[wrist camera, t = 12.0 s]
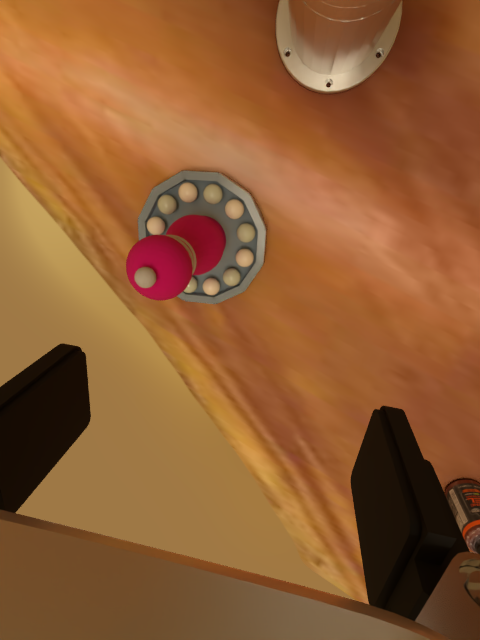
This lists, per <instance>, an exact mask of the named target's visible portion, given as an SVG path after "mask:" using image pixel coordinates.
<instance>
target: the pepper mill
mask: <svg viewBox="0 0 480 640" xmlns="http://www.w3.org/2000/svg"><path fill="white" fill-rule="evenodd" d="M225 246H226V235H225V232H224V230H223V228H222V226H221V225H220V224H219V223H218V222H217V221H216V220H215V219H213V218H211V217H208V216H200V215H186V216H183V217H181V218H179V219H178V220H176V221H175V222H174V223H172V225H171V226H170V227H169V229H168V230H167V233H166V235H151V236H148V237H145V238H143V239H141V240H140V241H138V242H137V243H136V244H135V245H134V246H133V247H132V249H131V250H130V252H129V254H128V257H127V262H126V270H127V275H128V278H129V281H130V283H131V284H132V286H133V287H134V288H135V289H136V290H137V291H138V292H139V293H140V294H142V295H143V296H145V297H147V298H150V299H153V300H167V299H171V298H174V297H175V296H177V295H179V294H180V293H182V292H183V291H184V290H185V289H186V287H187V286H188V284H189V282H190V280H191V278H192V275H201V274H204V273H207V272H209V271H210V270H212V269H213V268H214V267H216V265H217V264H218V263H219V261H220V260H221V257H222V255H223V251H224V249H225Z"/></svg>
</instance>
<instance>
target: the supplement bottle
mask: <svg viewBox="0 0 480 640" xmlns="http://www.w3.org/2000/svg"><path fill="white" fill-rule="evenodd" d="M445 495H446V498H447V501H448V503H449V505H450V507H451V510H452V512H453V514H454V517H455V519H456V521H457V524H458V526H459V528H460V531H461V533H462V535H463V537H464V540H465V542H466V544H467V546H468V547H469V548H470V549H471V550H472V551H473V552H475V553H478V554H480V484H479V483H478V482H476V481H473V480H468V479H463V480H457V481H454V482H453V483H451V484H450V485H449V486H448V487H447V488H446V492H445Z"/></svg>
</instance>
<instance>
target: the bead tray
mask: <svg viewBox="0 0 480 640" xmlns="http://www.w3.org/2000/svg"><path fill="white" fill-rule="evenodd" d="M250 194H251V193H249V192H248V191H246V190H245V189H244V188H243V187H242V186H241V185H239V184H238V183H237V182H235V181H233V180H232V179H230V178H228V177H227V176H225V175H224V174H222V173H219V172H201V171H181V172H179V173H178V174H176V175H174V176H173V177H171V178H169V179H168V180H166V181H164V182H163V183H161V184H159V185H158V186H156V187H154V188H153V189H152V191H151V193H150V195H149V197H148V199H147V201H146V203H145V205H144V207H143V209H142V212H141V214H140V216H139V218H138V219H139V220H138V231H139V241H140V240H141V239H143V238H145V237H148V236H151V235H166V233H167V230H168V229H169V227H170V226H171V225H172V223H174V222H175V221H176V220H178V219H179V218H181V217H183V216H186V215H200V216H208V217H211V218H213V219H215V220H216V221H217V222H218V223H219V224H220V225H221V226H222V228H223V230H224V232H225V235H226V246H225V249H224V251H223V255H222V257H221V260H220V261H219V263H218V264H217V265H216V267H214V268H213V269H212V270H210V271H209V272H207V273H204V274H201V275H192V278H191V280H190V282H189V284H188V286H187V287H186V289H185V290H184V291H183V292H182V293H180V294H179V295H177V296H178V297H179V298H181V299H182V300H185V301H190V302H200V303H209V304H217V303H220V302H222V301H224V300H226V299H229V298H231V297H233V296H235V295H238V294H240V293H242V292H244V291H245V290H246V289H247V287H248V286H249V284H250V283H251V281H252V280H253V279H254V277H255V276H256V274H257V273H258V271H259V270H260V269H261V267H262V266H263V264H264V258H265V250H266V233H267V228H266V225H265V222H264V219H263V216H262V213H261V211H260V209H259V207H258V205H257V203H256V202H255V200H254V199H253V197H252V195H250Z"/></svg>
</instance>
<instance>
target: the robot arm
mask: <svg viewBox="0 0 480 640" xmlns="http://www.w3.org/2000/svg"><path fill="white" fill-rule="evenodd" d="M401 16H402V0H280V1H279V4H278V8H277V15H276V40H277V46H278V50H279V54H280V57H281V59H282V62H283V64H284V66H285V68H286V70H287V71H288V72H289V74H290V75H291V77H292V78H293V79H294V80H296V81H297V82H298V83H299V84H300V85H301V86H303V87H305V88H307V89H308V90H311V91H314V92H317V93H323V94H334V93H341V92H344V91H347V90H350V89H352V88H354V87H356V86H357V85H359V84H361V83H363V82H364V81H365V80H366V79H367V78H369V77H370V76H371V75H372V74H373V73H374V72H375V71H376V70H377V69H378V67H379V66H380V65H381V64H382V63H383V61H384V60H385V58H386V57H387V55H388V53H389V51H390V49H391V48H392V46H393V44H394V42H395V39H396V36H397V33H398V30H399V27H400V21H401ZM287 52H289V53H290V56H289V57H286V56H285V55H286V53H287ZM377 53H379V54H380V58H377V57H376V54H377ZM327 83H330V84H331V86H330V87H329V88H327V87H326V84H327ZM90 417H91V414H90V402H89V391H88V377H87V365H86V355H85V353H84V352H82V350H81V348H80V347H78V346H73V345H67V344H60V345H58V346H56V347H55V348H54V349H52V350H51V351H49V352H48V353H47V354H45V355H44V356H42V357H41V358H40V359H38V360H37V361H36V362H34V363H33V364H32V365H30V366H29V367H27V368H26V369H24V370H23V371H22V372H21V373H19V374H18V375H16V376H15V377H13V378H12V379H11V380H9V381H8V382H7V383H5V384H4V385H2V386H1V387H0V640H480V554H478V553H472V552H470V551H469V549H468V547H467V544H466V542H465V540H464V537H463V535H462V533H461V531H460V528H459V526H458V524H457V521H456V519H455V517H454V514H453V512H452V510H451V507H450V505H449V503H448V501H447V498H446V496H445V494H444V491H443V489H442V487H441V484H440V482H439V480H438V478H437V475H436V473H435V471H434V468H433V466H432V465H431V463H430V462H429V461H428V460H424V458H423V456H422V453H421V451H420V449H419V446H418V444H417V441H416V439H415V436H414V434H413V432H412V429H411V427H410V424H409V422H408V420H407V417H406V415H405V412H404V411H403V410H402V409H398V408H393V407H388V406H382V407H381V408H380V410H378V409H375V410H374V411H373V413H372V416H371V419H370V422H369V425H368V428H367V431H366V433H365V436H364V439H363V442H362V445H361V448H360V451H359V454H358V456H357V459H356V462H355V465H354V468H353V471H352V474H351V489H352V495H353V502H354V509H355V515H356V522H357V529H358V535H359V542H360V549H361V555H362V562H363V568H364V575H365V582H366V588H367V595H368V601H369V604H370V605H368V604H365V603H362V602H359V601H355V600H351V599H348V598H344V597H341V596H337V595H333V594H330V593H326V592H323V591H318V590H315V589H311V588H308V587H305V586H301V585H297V584H293V583H289V582H286V581H282V580H278V579H274V578H270V577H266V576H262V575H259V574H255V573H251V572H247V571H243V570H239V569H235V568H231V567H228V566H224V565H220V564H216V563H212V562H208V561H204V560H200V559H196V558H193V557H189V556H184V555H180V554H176V553H173V552H169V551H165V550H161V549H157V548H153V547H149V546H145V545H141V544H137V543H133V542H129V541H125V540H121V539H117V538H113V537H109V536H105V535H101V534H97V533H93V532H89V531H85V530H81V529H77V528H73V527H69V526H65V525H61V524H57V523H52V522H49V521H44V520H40V519H36V518H32V517H28V516H24V515H20V514H16V513H15V512H16V511H17V510H18V509H19V508H20V507H21V505H22V504H23V503H24V502H25V501H26V500H27V498H28V497H29V496H30V495H31V494H32V492H33V491H34V490H35V489H36V488H37V486H38V485H39V484H40V483H41V482H42V480H43V479H44V478H45V477H46V475H47V474H48V473H49V472H50V471H51V470H52V468H53V467H54V466H55V465H56V464H57V462H58V461H59V460H60V459H61V458H62V456H63V455H64V454H65V453H66V452H67V450H68V449H69V448H70V447H71V446H72V444H73V443H74V442H75V441H76V440H77V438H78V437H79V436H80V435H81V433H82V432H83V431H84V430H85V428H86V427H87V426H88V424H89V422H90Z"/></svg>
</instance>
